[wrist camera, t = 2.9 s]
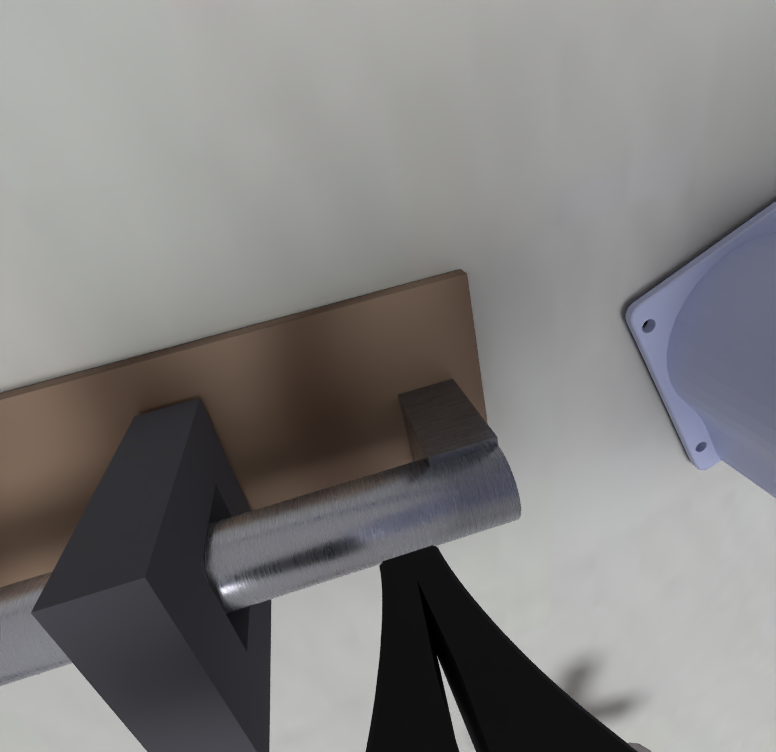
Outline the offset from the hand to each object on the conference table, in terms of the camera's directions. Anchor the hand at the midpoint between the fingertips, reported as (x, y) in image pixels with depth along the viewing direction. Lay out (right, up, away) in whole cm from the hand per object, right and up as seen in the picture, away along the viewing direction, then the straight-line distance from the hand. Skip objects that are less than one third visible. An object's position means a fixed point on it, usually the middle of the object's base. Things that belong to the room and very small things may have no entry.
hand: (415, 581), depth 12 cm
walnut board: (-9, +1, +5) cm, 10 cm away
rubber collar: (-7, +1, +6) cm, 9 cm away
